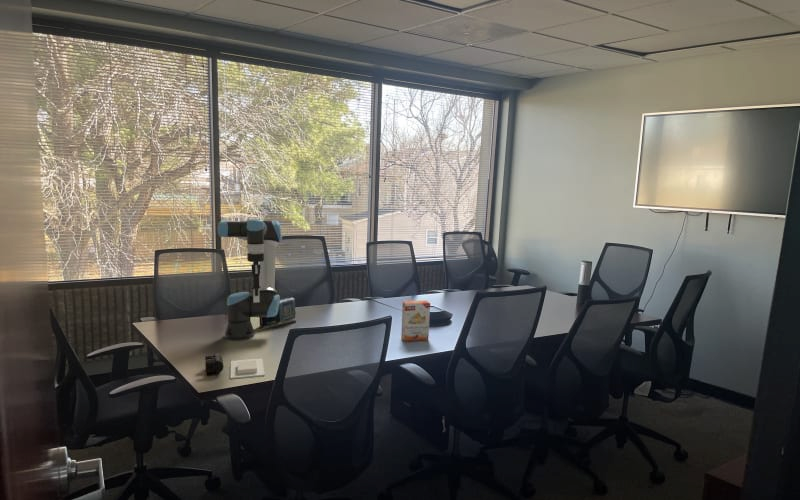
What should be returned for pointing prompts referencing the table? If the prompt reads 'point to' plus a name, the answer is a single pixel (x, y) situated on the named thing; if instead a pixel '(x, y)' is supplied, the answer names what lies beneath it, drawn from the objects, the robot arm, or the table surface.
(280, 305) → the radio
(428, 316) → the cracker box
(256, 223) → the robot arm
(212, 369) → the end cap
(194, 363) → the table surface
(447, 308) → the table surface
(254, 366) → the tile
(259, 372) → the mat
